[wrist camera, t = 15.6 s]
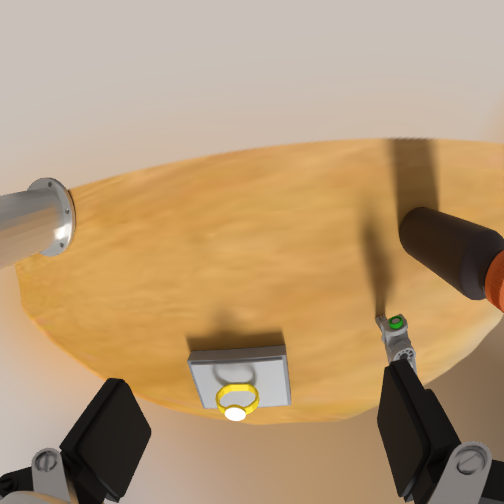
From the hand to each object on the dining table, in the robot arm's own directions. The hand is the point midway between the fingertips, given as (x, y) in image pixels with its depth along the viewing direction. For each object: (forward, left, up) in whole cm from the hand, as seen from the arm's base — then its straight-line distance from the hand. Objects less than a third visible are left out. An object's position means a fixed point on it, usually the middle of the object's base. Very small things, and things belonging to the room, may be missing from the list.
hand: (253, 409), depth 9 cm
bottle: (+20, -2, -28) cm, 35 cm away
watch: (-7, -21, -26) cm, 34 cm away
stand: (-7, -21, -28) cm, 36 cm away
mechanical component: (+14, -14, -28) cm, 35 cm away
